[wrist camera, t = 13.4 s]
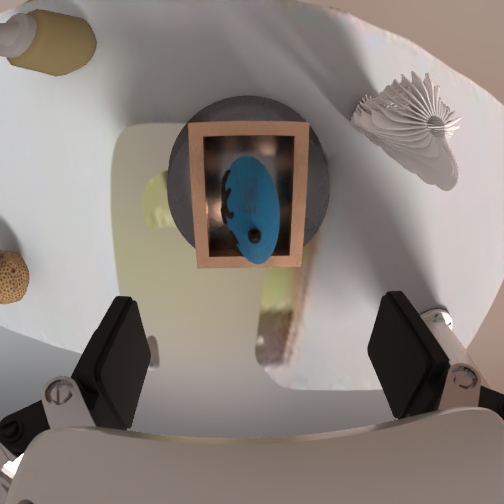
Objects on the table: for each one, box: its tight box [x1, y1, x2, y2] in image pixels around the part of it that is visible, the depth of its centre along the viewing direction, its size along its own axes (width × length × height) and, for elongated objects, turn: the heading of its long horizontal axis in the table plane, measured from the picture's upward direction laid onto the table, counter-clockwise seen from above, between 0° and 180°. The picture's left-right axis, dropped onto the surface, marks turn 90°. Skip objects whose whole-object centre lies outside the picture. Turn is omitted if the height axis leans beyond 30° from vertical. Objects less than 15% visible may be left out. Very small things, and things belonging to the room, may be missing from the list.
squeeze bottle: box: [0, 9, 97, 76], centre depth 19 cm, size 8×8×18 cm
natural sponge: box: [0, 251, 29, 304], centre depth 36 cm, size 9×9×10 cm
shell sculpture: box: [350, 71, 461, 191], centre depth 25 cm, size 8×8×18 cm
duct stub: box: [167, 96, 330, 268], centre depth 31 cm, size 19×19×12 cm
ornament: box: [220, 156, 280, 264], centre depth 23 cm, size 8×5×10 cm, turn 8°
